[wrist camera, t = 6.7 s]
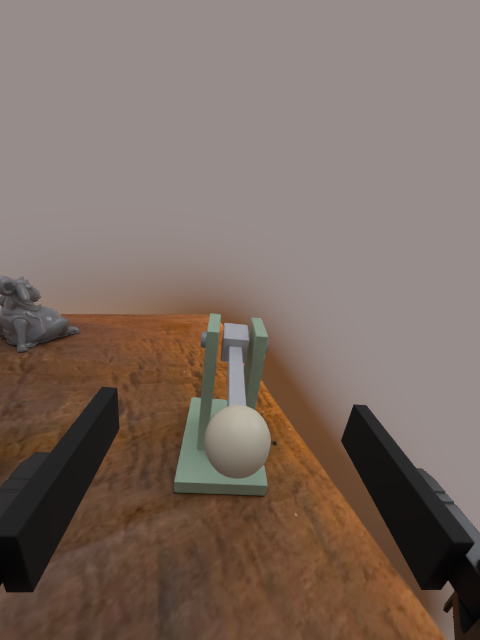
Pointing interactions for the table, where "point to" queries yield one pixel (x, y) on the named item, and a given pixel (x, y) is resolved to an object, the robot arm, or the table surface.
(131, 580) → the table surface
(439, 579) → the robot arm
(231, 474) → the knob lever
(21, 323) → the figurine
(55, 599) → the table surface
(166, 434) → the table surface
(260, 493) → the green lever stand
